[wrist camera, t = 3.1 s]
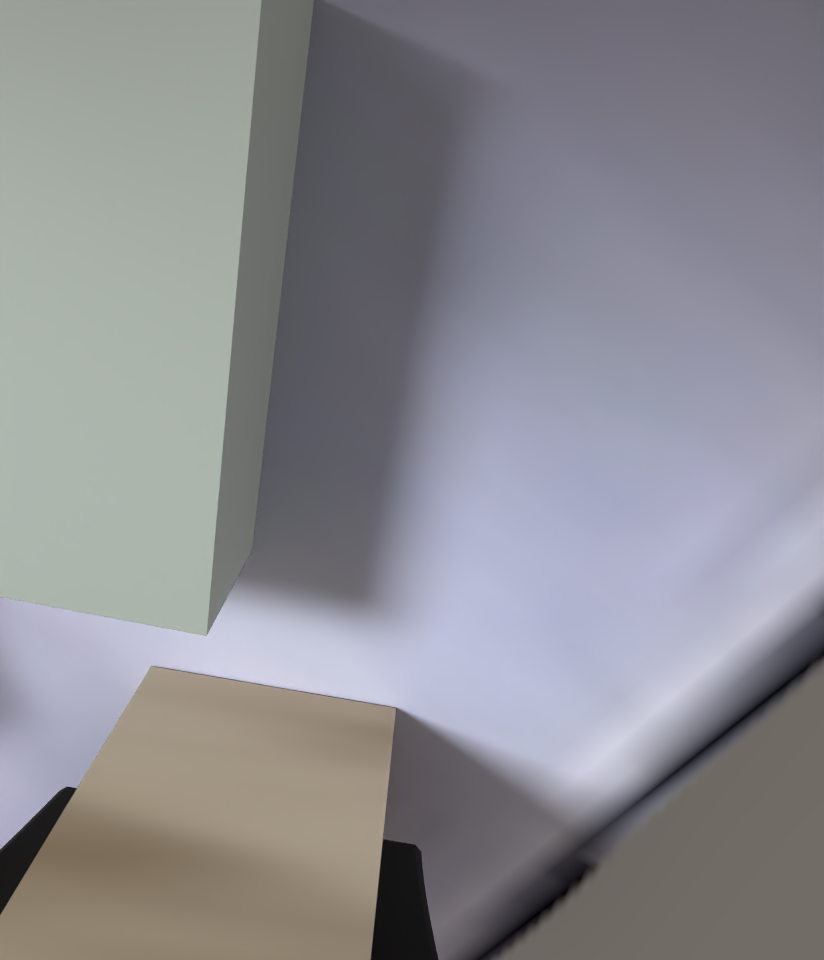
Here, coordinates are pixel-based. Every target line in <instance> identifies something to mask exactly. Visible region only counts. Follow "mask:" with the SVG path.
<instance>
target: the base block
mask: <svg viewBox="0 0 824 960" xmlns="http://www.w3.org/2000/svg"><path fill="white" fill-rule="evenodd" d="M313 6H314V0H0V597H3V598H9V599H14V600H19V601H25V602H30V603H35V604H40V605H46V606H51V607H56V608H62V609H67V610H72V611H77V612H83V613H88V614H93V615H98V616H104V617H109V618H114V619H120V620H125V621H130V622H135V623H141V624H146V625H151V626H157V627H162V628H167V629H172V630H178V631H183V632H188V633H194V634H199V635H204V636H207V634H208V632H209V630H210V628H211V627H212V625H213V623H214V621H215V619H216V617H217V615H218V613H219V612H220V610H221V608H222V606H223V604H224V602H225V600H226V598H227V597H228V595H229V593H230V591H231V589H232V587H233V585H234V583H235V582H236V580H237V578H238V576H239V574H240V572H241V570H242V568H243V567H244V565H245V563H246V561H247V559H248V557H249V555H250V553H251V552H252V548H253V539H254V530H255V521H256V512H257V504H258V495H259V486H260V477H261V468H262V459H263V450H264V441H265V433H266V424H267V415H268V406H269V397H270V388H271V379H272V370H273V361H274V353H275V344H276V335H277V326H278V317H279V308H280V299H281V290H282V282H283V273H284V264H285V255H286V246H287V237H288V228H289V219H290V210H291V202H292V193H293V184H294V175H295V166H296V157H297V148H298V139H299V131H300V122H301V113H302V104H303V95H304V86H305V77H306V68H307V59H308V51H309V42H310V33H311V24H312V15H313Z"/></svg>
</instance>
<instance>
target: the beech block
mask: <svg viewBox="0 0 824 960" xmlns="http://www.w3.org/2000/svg"><path fill="white" fill-rule="evenodd" d="M395 715H396V708H392V707H387V706H381V705H375V704H369V703H363V702H357V701H352V700H346V699H340V698H334V697H328V696H322V695H316V694H311V693H305V692H299V691H293V690H287V689H281V688H276V687H270V686H264V685H258V684H252V683H246V682H241V681H235V680H229V679H223V678H217V677H211V676H206V675H200V674H194V673H188V672H182V671H176V670H170V669H165V668H159V667H153V666H151V667H150V669H149V671H148V672H147V674H146V676H145V677H144V679H143V681H142V682H141V684H140V685H139V687H138V689H137V690H136V692H135V694H134V695H133V697H132V699H131V700H130V702H129V704H128V705H127V707H126V709H125V710H124V712H123V714H122V715H121V717H120V718H119V720H118V722H117V723H116V725H115V727H114V728H113V730H112V732H111V733H110V735H109V737H108V738H107V740H106V742H105V743H104V745H103V747H102V748H101V750H100V751H99V753H98V755H97V756H96V758H95V760H94V761H93V763H92V765H91V766H90V768H89V770H88V771H87V773H86V775H85V776H84V778H83V780H82V781H81V783H80V784H79V786H78V788H77V789H76V791H75V793H74V794H73V796H72V798H71V799H70V801H69V803H68V804H67V806H66V808H65V809H64V811H63V813H62V814H61V816H60V817H59V819H58V821H57V822H56V824H55V826H54V827H53V829H52V831H51V832H50V834H49V836H48V837H47V839H46V841H45V842H44V844H43V846H42V847H41V849H40V850H39V852H38V854H37V855H36V857H35V859H34V860H33V862H32V864H31V865H30V867H29V869H28V870H27V872H26V874H25V875H24V877H23V879H22V880H21V882H20V883H19V885H18V887H17V888H16V890H15V892H14V893H13V895H12V897H11V898H10V900H9V902H8V903H7V905H6V907H5V908H4V910H3V912H2V913H1V915H0V960H371V951H372V941H373V931H374V921H375V911H376V901H377V892H378V882H379V872H380V862H381V852H382V842H383V833H384V823H385V813H386V803H387V793H388V784H389V774H390V764H391V754H392V744H393V734H394V725H395Z"/></svg>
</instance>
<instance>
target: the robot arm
mask: <svg viewBox="0 0 824 960" xmlns="http://www.w3.org/2000/svg"><path fill="white" fill-rule="evenodd" d="M76 789H77V788H72V787H65V788H64V789H62V790H60V791H59V792H58V793H57V794H56V795H55V796H54V797H53V798H52V799H51V800H50V801H49V802H48V803H47V804H46V805H45V806H44V807H43V808H42V809H41V810H40V811H39V812H38V813H37V814H36V815H35V816H34V817H33V818H32V819H31V820H30V821H29V822H28V823H27V824H26V825H25V826H24V827H23V828H22V829H21V830H20V831H19V832H18V833H17V834H16V835H15V836H14V837H13V838H12V839H11V840H10V841H9V842H8V843H7V844H6V845H5V846H4V847H2V848H1V849H0V915H1V913H2V912H3V910H4V908H5V907H6V905H7V903H8V902H9V900H10V898H11V897H12V895H13V893H14V892H15V890H16V888H17V887H18V885H19V883H20V882H21V880H22V879H23V877H24V875H25V874H26V872H27V870H28V869H29V867H30V865H31V864H32V862H33V860H34V859H35V857H36V855H37V854H38V852H39V850H40V849H41V847H42V846H43V844H44V842H45V841H46V839H47V837H48V836H49V834H50V832H51V831H52V829H53V827H54V826H55V824H56V822H57V821H58V819H59V817H60V816H61V814H62V813H63V811H64V809H65V808H66V806H67V804H68V803H69V801H70V799H71V798H72V796H73V794H74V793H75V791H76ZM371 960H438V955H437V951H436V946H435V942H434V936H433V931H432V926H431V921H430V916H429V911H428V905H427V899H426V892H425V886H424V878H423V869H422V858H421V851H420V850H419V849H418V847H417V846H416V845H413V844H407V843H401V842H395V841H389V840H383V842H382V852H381V862H380V872H379V882H378V892H377V901H376V911H375V921H374V931H373V941H372V951H371Z"/></svg>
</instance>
